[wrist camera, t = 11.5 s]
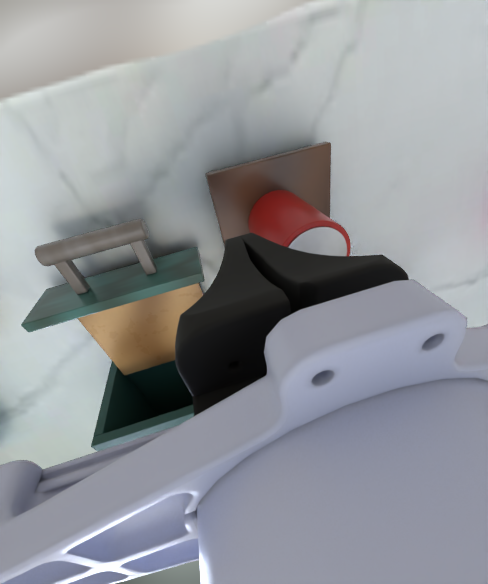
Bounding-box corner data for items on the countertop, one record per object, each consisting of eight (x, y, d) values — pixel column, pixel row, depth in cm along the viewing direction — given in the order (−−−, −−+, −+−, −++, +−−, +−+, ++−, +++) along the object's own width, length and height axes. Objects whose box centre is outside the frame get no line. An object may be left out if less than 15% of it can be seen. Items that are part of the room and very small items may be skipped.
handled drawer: (180, 198, 19) (182, 218, 15) (228, 338, 28) (236, 370, 25) (9, 244, 18) (-31, 276, 15) (117, 373, 28) (109, 411, 24)
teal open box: (226, 325, 29) (244, 396, 21) (246, 384, 36) (264, 452, 29) (111, 360, 28) (90, 446, 21) (155, 413, 35) (151, 491, 28)
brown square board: (315, 139, 20) (331, 142, 18) (317, 243, 25) (329, 254, 23) (202, 169, 19) (206, 175, 17) (229, 268, 24) (234, 282, 22)
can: (302, 182, 19) (354, 211, 13) (305, 238, 22) (349, 281, 16) (243, 198, 18) (271, 235, 13) (253, 253, 21) (281, 302, 16)
